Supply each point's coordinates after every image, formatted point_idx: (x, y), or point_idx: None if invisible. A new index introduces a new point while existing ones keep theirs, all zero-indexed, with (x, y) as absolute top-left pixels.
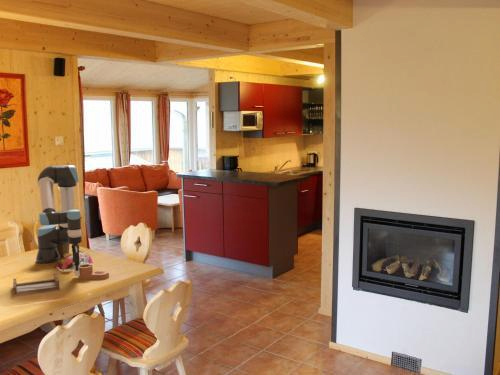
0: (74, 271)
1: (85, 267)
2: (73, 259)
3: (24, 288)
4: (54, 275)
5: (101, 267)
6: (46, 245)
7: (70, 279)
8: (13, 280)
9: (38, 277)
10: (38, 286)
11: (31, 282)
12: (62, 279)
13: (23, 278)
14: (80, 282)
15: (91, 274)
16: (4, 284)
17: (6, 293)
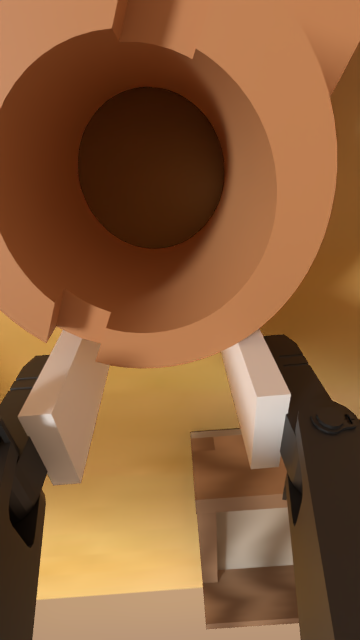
0: None
1: (307, 213)
2: (37, 577)
3: (279, 549)
4: (242, 507)
5: None
6: None
7: None
8: (238, 626)
9: (51, 516)
10: (284, 511)
11: (213, 547)
12: (156, 402)
13: (57, 559)
14: (356, 253)
15: (332, 64)
16: (145, 591)
17: None
